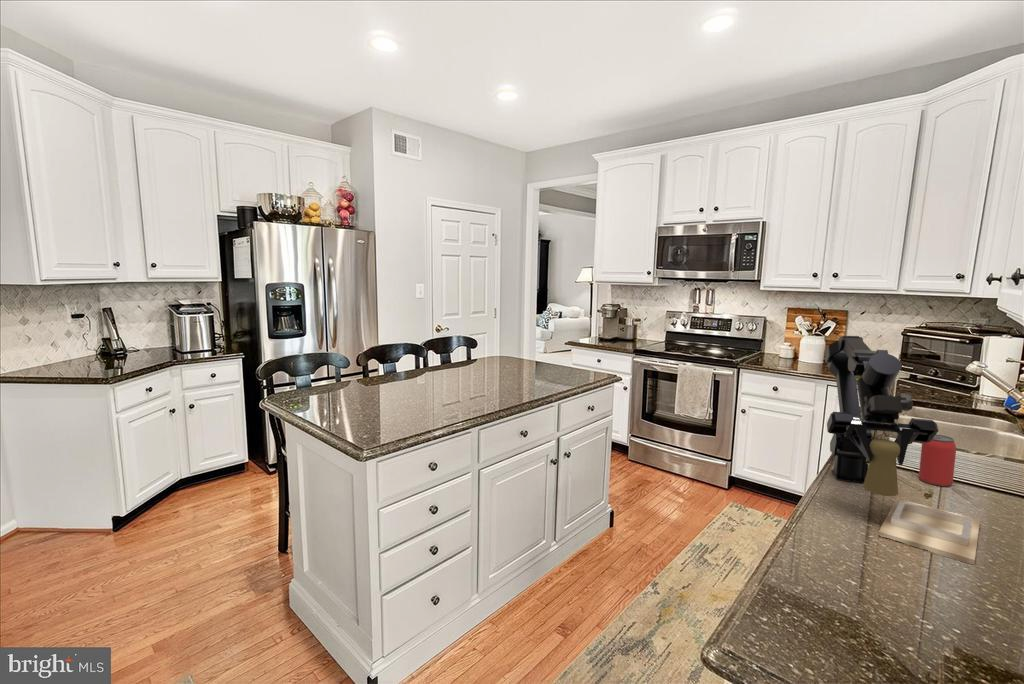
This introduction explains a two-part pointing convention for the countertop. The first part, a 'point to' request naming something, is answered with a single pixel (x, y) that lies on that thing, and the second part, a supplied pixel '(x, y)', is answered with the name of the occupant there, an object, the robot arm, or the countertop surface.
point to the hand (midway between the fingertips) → (885, 462)
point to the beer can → (938, 461)
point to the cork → (882, 468)
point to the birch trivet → (933, 543)
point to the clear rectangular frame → (931, 531)
